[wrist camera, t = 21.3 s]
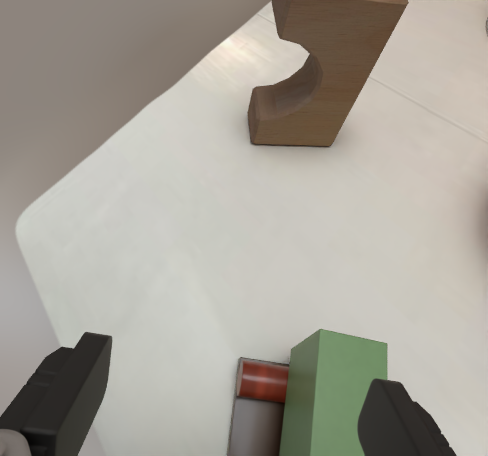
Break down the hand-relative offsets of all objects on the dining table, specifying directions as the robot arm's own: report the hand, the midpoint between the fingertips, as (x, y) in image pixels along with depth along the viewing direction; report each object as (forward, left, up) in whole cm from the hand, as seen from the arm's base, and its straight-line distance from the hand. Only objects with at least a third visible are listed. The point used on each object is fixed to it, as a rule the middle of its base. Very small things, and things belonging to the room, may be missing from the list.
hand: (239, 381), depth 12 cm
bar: (+9, -1, -22) cm, 24 cm away
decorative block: (+6, +35, -26) cm, 44 cm away
